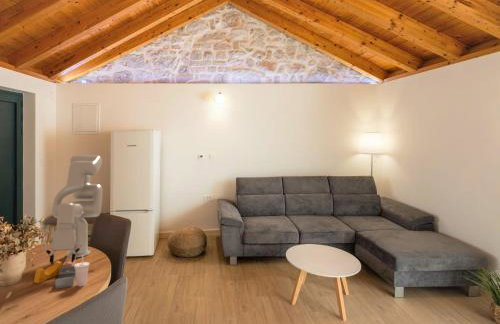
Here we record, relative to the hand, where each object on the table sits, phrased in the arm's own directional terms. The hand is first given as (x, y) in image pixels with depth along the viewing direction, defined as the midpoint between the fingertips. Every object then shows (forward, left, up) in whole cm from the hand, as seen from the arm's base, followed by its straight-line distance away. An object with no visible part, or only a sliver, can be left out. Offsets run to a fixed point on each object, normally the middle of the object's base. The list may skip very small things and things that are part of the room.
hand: (62, 262), depth 152 cm
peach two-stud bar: (-9, +2, -7) cm, 12 cm away
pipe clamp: (-1, -7, -7) cm, 10 cm away
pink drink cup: (+15, +9, -7) cm, 19 cm away
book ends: (+7, +2, -7) cm, 10 cm away
